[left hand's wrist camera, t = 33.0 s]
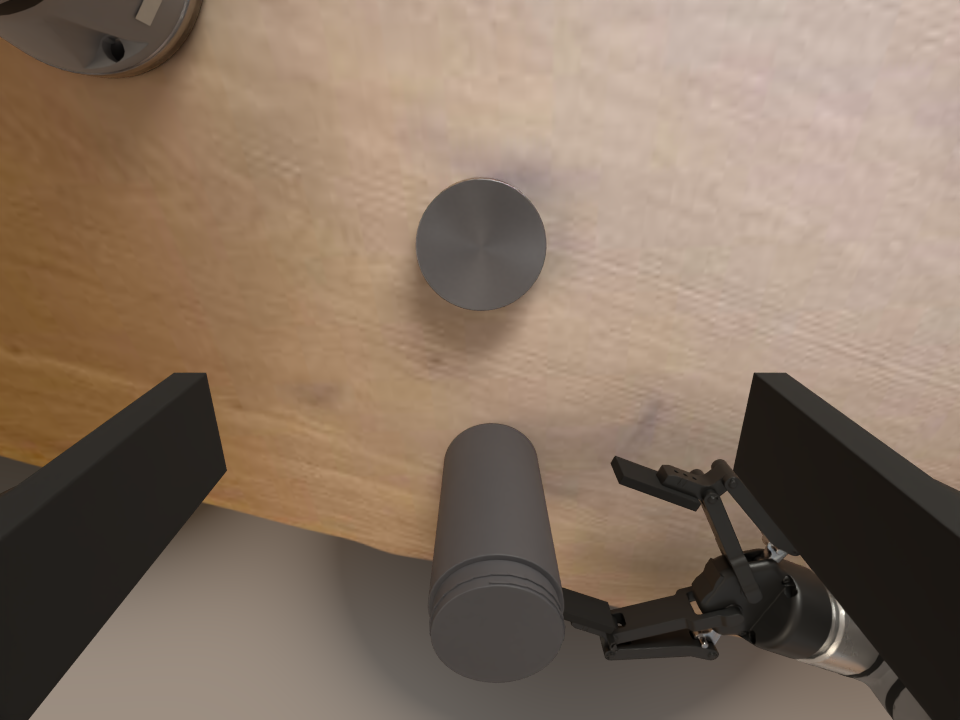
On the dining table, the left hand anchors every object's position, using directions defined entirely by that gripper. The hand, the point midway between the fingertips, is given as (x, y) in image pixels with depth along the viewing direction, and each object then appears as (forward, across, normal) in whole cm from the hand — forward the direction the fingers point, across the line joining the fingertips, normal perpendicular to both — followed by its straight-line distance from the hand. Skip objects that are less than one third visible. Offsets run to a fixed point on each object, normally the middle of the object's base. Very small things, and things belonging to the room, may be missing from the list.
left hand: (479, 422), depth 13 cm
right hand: (+22, +8, -22) cm, 32 cm away
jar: (+29, +1, -20) cm, 35 cm away
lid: (+27, 0, 0) cm, 27 cm away
